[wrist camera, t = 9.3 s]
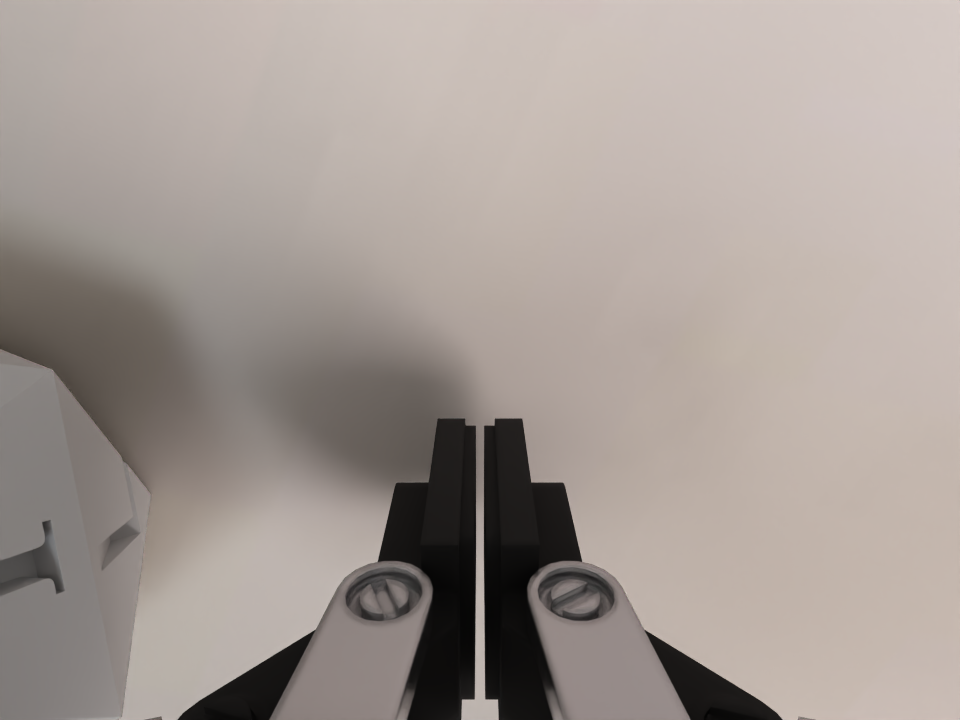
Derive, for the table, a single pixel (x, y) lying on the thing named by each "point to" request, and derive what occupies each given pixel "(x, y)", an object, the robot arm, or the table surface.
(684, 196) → the table surface
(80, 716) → the die
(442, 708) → the robot arm
